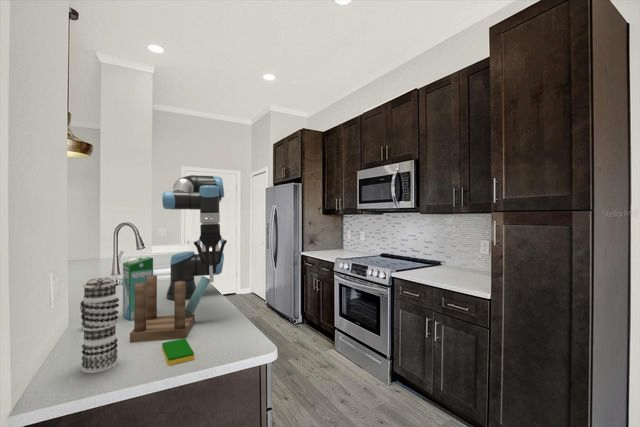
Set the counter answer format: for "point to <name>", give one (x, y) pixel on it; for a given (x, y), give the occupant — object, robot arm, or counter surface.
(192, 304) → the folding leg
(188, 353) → the dish sponge
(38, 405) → the counter surface
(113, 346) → the decorative candle
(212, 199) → the robot arm
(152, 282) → the walnut stool
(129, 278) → the milk carton
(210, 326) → the counter surface
